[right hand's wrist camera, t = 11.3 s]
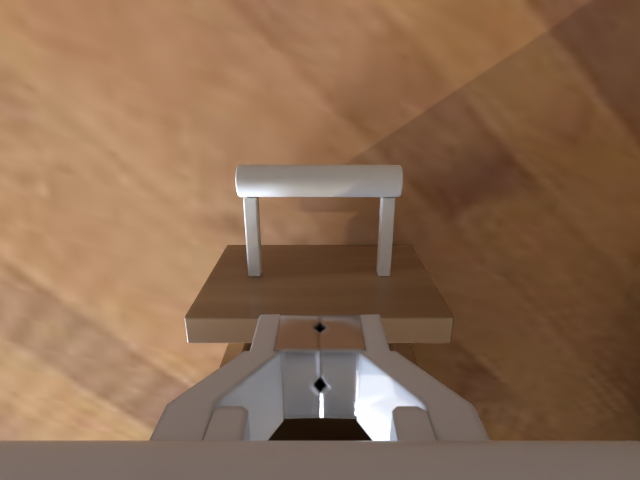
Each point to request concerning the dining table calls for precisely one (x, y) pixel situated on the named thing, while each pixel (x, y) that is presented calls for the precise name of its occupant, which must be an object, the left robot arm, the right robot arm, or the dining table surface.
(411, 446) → the right robot arm
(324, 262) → the drawer
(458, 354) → the dining table surface
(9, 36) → the dining table surface
